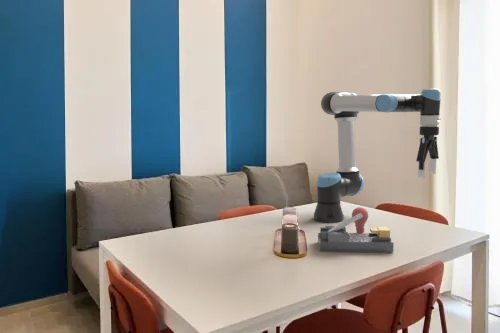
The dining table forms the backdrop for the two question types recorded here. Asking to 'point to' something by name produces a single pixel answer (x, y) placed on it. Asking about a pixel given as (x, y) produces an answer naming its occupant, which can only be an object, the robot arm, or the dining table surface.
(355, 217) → the light grey flat bar
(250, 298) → the dining table surface
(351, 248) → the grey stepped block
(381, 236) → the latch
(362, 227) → the light bulb
